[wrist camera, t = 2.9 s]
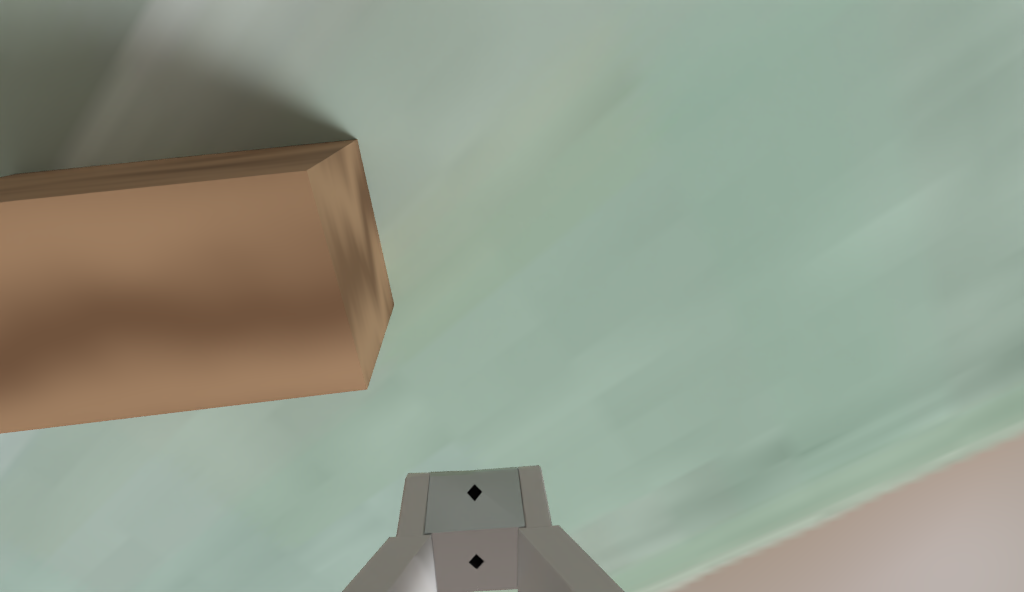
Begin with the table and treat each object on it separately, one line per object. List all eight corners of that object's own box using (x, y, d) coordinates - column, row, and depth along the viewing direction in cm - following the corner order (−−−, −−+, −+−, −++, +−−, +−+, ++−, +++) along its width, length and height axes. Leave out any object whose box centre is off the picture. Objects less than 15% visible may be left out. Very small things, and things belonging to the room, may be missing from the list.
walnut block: (18, 173, 22) (-198, 222, 15) (357, 138, 23) (306, 170, 16) (106, 336, 26) (-30, 436, 19) (394, 303, 27) (367, 389, 20)
